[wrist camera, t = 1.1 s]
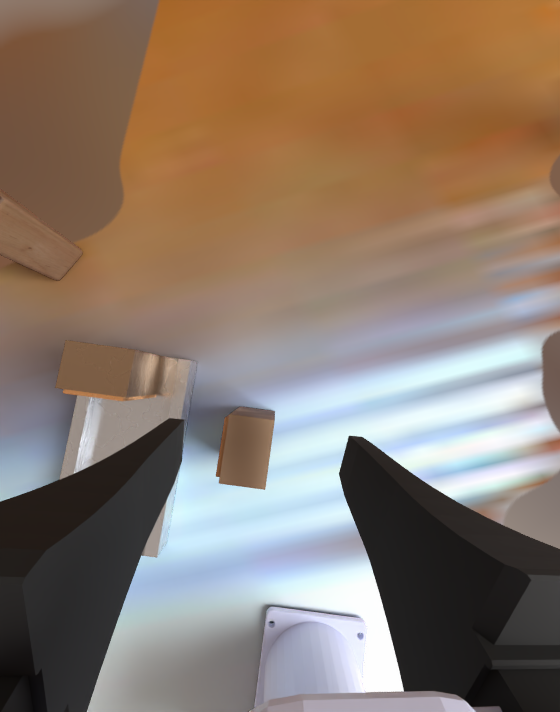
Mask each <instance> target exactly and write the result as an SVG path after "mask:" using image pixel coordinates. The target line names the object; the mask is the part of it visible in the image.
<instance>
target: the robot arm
mask: <svg viewBox="0 0 560 712" xmlns="http://www.w3.org/2000/svg"><path fill="white" fill-rule="evenodd" d="M183 435H184V419H174V418H169V419H167V420H166V421H164V422H163V423H161V424H160V425H158V426H157V427H155V428H154V429H152V430H151V431H149V432H148V433H146V434H145V435H143V436H142V437H140V438H139V439H137V440H136V441H134V442H133V443H131V444H129V445H127V446H126V447H124V448H122V449H121V450H119V451H117V452H116V453H114V454H112V455H111V456H109V457H107V458H105V459H103V460H101V461H99V462H97V463H95V464H93V465H91V466H89V467H87V468H85V469H83V470H81V471H79V472H76V473H74V474H72V475H69V476H67V477H65V478H62V479H60V480H57V481H55V482H53V483H50V484H48V485H45V486H43V487H41V488H38V489H35V490H32V491H30V492H27V493H24V494H21V495H19V496H16V497H13V498H10V499H7V500H4V501H1V502H0V712H87V709H88V706H89V703H90V700H91V697H92V694H93V691H94V688H95V685H96V682H97V679H98V676H99V673H100V670H101V667H102V664H103V661H104V658H105V655H106V652H107V649H108V646H109V643H110V641H111V638H112V635H113V632H114V629H115V626H116V623H117V620H118V617H119V615H120V612H121V609H122V606H123V604H124V601H125V598H126V595H127V592H128V590H129V587H130V584H131V581H132V579H133V576H134V573H135V571H136V568H137V565H138V563H139V560H140V557H141V555H142V552H143V550H144V547H145V545H146V543H147V540H148V538H149V536H150V534H151V532H152V530H153V528H154V526H155V523H156V521H157V519H158V517H159V515H160V513H161V511H162V509H163V507H164V505H165V502H166V500H167V498H168V496H169V494H170V492H171V490H172V488H173V485H174V483H175V480H176V477H177V474H178V471H179V468H180V465H181V462H182V450H183ZM339 475H340V480H341V484H342V488H343V492H344V495H345V498H346V501H347V503H348V506H349V509H350V511H351V514H352V516H353V519H354V521H355V524H356V526H357V529H358V531H359V534H360V536H361V539H362V541H363V544H364V546H365V549H366V551H367V554H368V557H369V560H370V563H371V566H372V569H373V573H374V576H375V579H376V583H377V586H378V589H379V593H380V597H381V600H382V604H383V608H384V611H385V615H386V618H387V622H388V626H389V630H390V634H391V638H392V642H393V646H394V650H395V654H396V658H397V662H398V666H399V670H400V675H401V679H402V684H403V688H404V692H369V693H366V692H365V688H364V685H363V681H362V679H363V668H364V657H365V647H366V636H367V626H366V623H365V621H364V620H363V619H361V618H355V617H347V616H340V615H332V614H325V613H317V612H310V611H302V610H295V609H288V608H280V607H270V608H268V610H267V612H266V619H265V627H264V635H263V642H262V650H261V658H260V666H259V673H258V681H257V689H256V697H255V704H254V709H252V710H250V711H248V712H560V549H558V548H555V547H553V546H550V545H548V544H545V543H543V542H540V541H538V540H535V539H533V538H530V537H528V536H525V535H523V534H521V533H519V532H517V531H514V530H512V529H510V528H508V527H505V526H503V525H501V524H499V523H497V522H495V521H493V520H491V519H489V518H487V517H485V516H483V515H481V514H479V513H477V512H475V511H473V510H471V509H469V508H467V507H465V506H463V505H462V504H460V503H458V502H456V501H455V500H453V499H451V498H449V497H448V496H446V495H444V494H443V493H441V492H439V491H438V490H436V489H434V488H433V487H431V486H430V485H428V484H427V483H425V482H424V481H422V480H421V479H419V478H418V477H416V476H415V475H414V474H412V473H411V472H409V471H408V470H406V469H405V468H404V467H402V466H401V465H400V464H398V463H397V462H396V461H394V460H393V459H392V458H390V457H389V456H388V455H386V454H385V453H384V452H382V451H381V450H380V449H378V448H377V447H376V446H374V445H373V444H372V443H370V442H369V441H367V440H366V439H364V438H363V437H357V436H349V438H348V442H347V445H346V449H345V453H344V457H343V461H342V464H341V468H340V472H339ZM270 621H274V623H270ZM360 632H361V634H360V635H357V634H358V633H360Z"/></svg>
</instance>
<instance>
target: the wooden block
mask: <svg viewBox="0 0 560 712" xmlns="http://www.w3.org/2000/svg"><path fill="white" fill-rule="evenodd" d="M82 254H83V252H82V250H81V249H80V248H79V247H77V246H76V245H75V244H73V243H72V242H71V241H69V240H68V239H67V238H66V237H64V236H62V234H60V233H59V232H58V231H56V230H55V229H53V228H52V227H50V226H49V225H48V224H46V223H45V222H43V221H42V220H40V219H39V218H38V217H37V216H36V215H35V214H33V213H32V212H31V211H29V210H28V209H27V208H26V207H24V206H23V205H22V204H20V203H19V202H18V201H16V200H15V199H14V198H12V197H11V196H10V195H8V194H7V193H6V192H4V191H3V190H2V189H0V255H1V256H4V257H6V258H8V259H10V260H12V261H14V262H17V263H19V264H21V265H23V266H25V267H27V268H30V269H32V270H34V271H36V272H38V273H40V274H43V275H45V276H47V277H49V278H51V279H53V280H58V281H59V280H60V279H62V277H63V276H64V275H65V274H66V273H67V272H68V271H69V269H70V268H71V267H72V266H73V265H74V264H75V263H76V261H77V260H78V259H79V258H80V257H81V256H82Z"/></svg>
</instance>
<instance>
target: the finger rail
mask: <svg viewBox="0 0 560 712" xmlns="http://www.w3.org/2000/svg"><path fill="white" fill-rule="evenodd" d="M196 368H197V362H195V361H192V360H185V359H175V358H169V357H164V356H160V355H156V354H151V353H147V352H143V351H138V350H133V349H126V348H118V347H111V346H104V345H96V344H89V343H82V342H75V341H67V340H66V342H65V346H64V351H63V355H62V360H61V364H60V369H59V373H58V378H57V382H56V387H55V388H60V389H64V391H63V393H65V394H72V395H77V399H76V404H75V409H74V413H73V418H72V423H71V427H70V432H69V437H68V441H67V446H66V451H65V456H64V460H63V465H62V470H61V474H60V479H62V478H65V477H67V476H69V475H72V474H74V473H76V472H79V471H81V470H83V469H85V468H87V467H89V466H91V465H93V464H95V463H97V462H99V461H101V460H103V459H105V458H107V457H109V456H111V455H112V454H114V453H116V452H117V451H119V450H121V449H122V448H124V447H126V446H127V445H129V444H131V443H133V442H134V441H136V440H137V439H139V438H140V437H142V436H143V435H145V434H146V433H148V432H149V431H151V430H152V429H154V428H155V427H157V426H158V425H160V424H161V423H163V422H164V421H166V420H167V419H169V418H174V419H184V435H183V445H184V439H185V433H186V427H187V421H188V415H189V410H190V404H191V398H192V392H193V386H194V380H195V374H196ZM182 451H183V450H182ZM179 469H180V468H179ZM178 475H179V471H178V474H177V477H176V480H175V483H174V485H173V488H172V490H171V492H170V494H169V496H168V498H167V500H166V502H165V505H164V507H163V509H162V511H161V513H160V515H159V517H158V519H157V521H156V523H155V526H154V528H153V530H152V532H151V534H150V536H149V538H148V540H147V543H146V545H145V547H144V550H143V552H142V556H150V557H158V555H159V554H160V552H161V551H162V549H163V548H164V546H165V545H166V543H167V540H168V534H169V528H170V522H171V516H172V510H173V504H174V498H175V492H176V486H177V481H178ZM60 479H59V480H60Z"/></svg>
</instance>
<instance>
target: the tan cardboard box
mask: <svg viewBox="0 0 560 712" xmlns="http://www.w3.org/2000/svg"><path fill="white" fill-rule="evenodd" d="M274 420H275V411H271V410H263V409H256V408H249V407H241V406H240V407H239V408H237V409H236V410H235V411H233V412H232V413H230V414H229V415H228V416H226V417H225V420H224V427H223V433H222V439H221V446H220V452H219V459H218V465H217V472H216V477H220V479H219V483H220V484H227V485H235V486H242V487H249V488H257V489H264V490H265V487H266V479H267V472H268V465H269V457H270V450H271V443H272V435H273V428H274Z"/></svg>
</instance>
